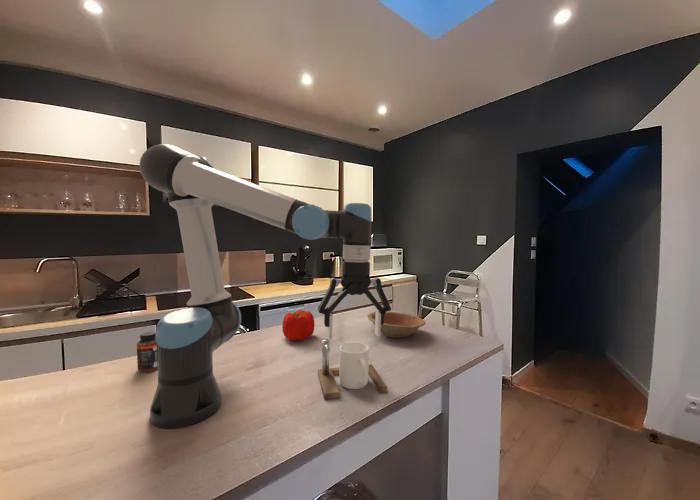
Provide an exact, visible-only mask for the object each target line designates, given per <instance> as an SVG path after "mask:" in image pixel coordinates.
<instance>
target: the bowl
mask: <svg viewBox="0 0 700 500" xmlns="http://www.w3.org/2000/svg"><path fill="white" fill-rule="evenodd" d="M375 312H376V311H374V312H370V313H369V314H368V315H367V319H368V320H369V321H371V322H372V324H373V325H374V326H375ZM425 325H426V320H424V319H423V318H421V317H419V316H416V315H412V314H410V313H405V312H396V311H387V312H386V313H385V314H384V324H381V330H380V333H382V334H383V335H385V336H387V338H391V339H392V338H393V339H401V338H402V339H403V337H404V338H406V337H408V336H410V335H412V334H414V333H416V332H417V331H418V330H419V328H421V327H423V326H425Z"/></svg>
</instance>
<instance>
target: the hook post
mask: <svg viewBox="0 0 700 500" xmlns="http://www.w3.org/2000/svg"><path fill="white" fill-rule="evenodd" d="M321 348H322V349H321V353H322V355H321V357H322V358H321V360H322V361H321V363H322V364H321V369H322V374H323V375H328V374H329V369H330V351H331V348H330V340H329V338H323V339H322V347H321Z"/></svg>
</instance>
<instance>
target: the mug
mask: <svg viewBox="0 0 700 500" xmlns="http://www.w3.org/2000/svg"><path fill="white" fill-rule="evenodd" d="M369 349H370V348H369V346H368V345H367V344H365V343H362V342H358V341H357V342H355V341H354V342H353V341H352V342H351V341H350V342H346V343H345V342H344V343H343V344H341V345H340V346H339V353H338V354H339V355H338V356H339V357H338V358H339V361H338V362H339V367H338V368H339V375H338V376H339V384H340V385H341V386H342V387H343V388H345V389H348V390H359V389H363V388H365V387H366V386H367V385H368V383H369V374H368V365H369V354H370V353H369Z"/></svg>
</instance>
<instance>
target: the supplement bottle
mask: <svg viewBox="0 0 700 500" xmlns="http://www.w3.org/2000/svg"><path fill="white" fill-rule="evenodd" d="M156 333H157V332H155V331H146V332H145V331H144V332H142V333H141V334H140V335H139V339H140V340H138V341H137V342H136V343H137V344H136V357H137V358H136V360H137V371H138V372H139V373H149V372H153V371H156V370H158V366H157V343H156V339H155V338H156Z"/></svg>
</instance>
